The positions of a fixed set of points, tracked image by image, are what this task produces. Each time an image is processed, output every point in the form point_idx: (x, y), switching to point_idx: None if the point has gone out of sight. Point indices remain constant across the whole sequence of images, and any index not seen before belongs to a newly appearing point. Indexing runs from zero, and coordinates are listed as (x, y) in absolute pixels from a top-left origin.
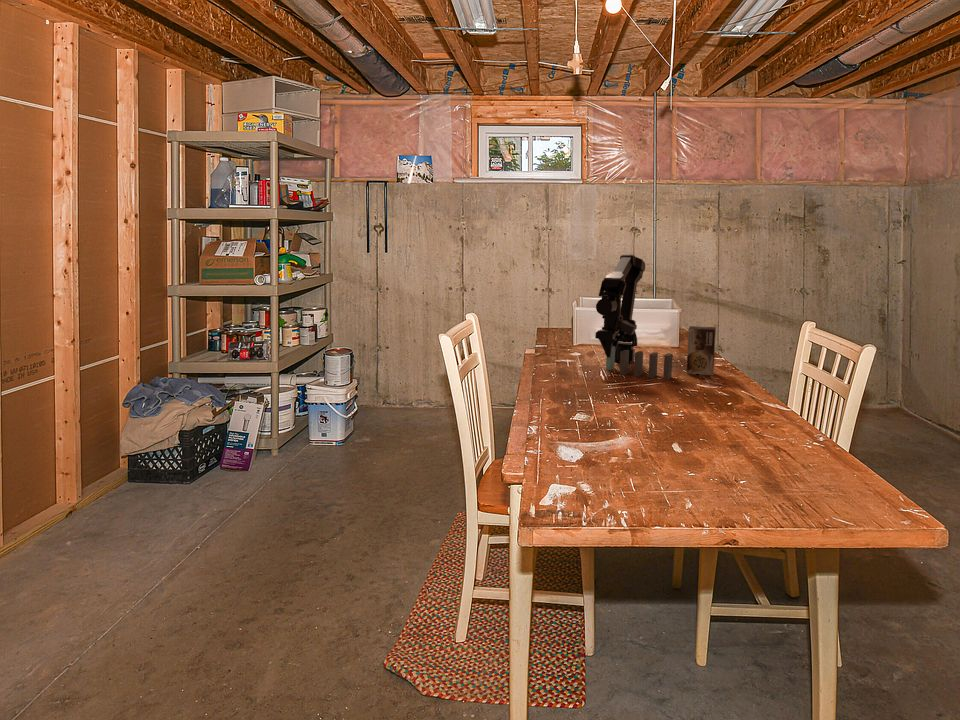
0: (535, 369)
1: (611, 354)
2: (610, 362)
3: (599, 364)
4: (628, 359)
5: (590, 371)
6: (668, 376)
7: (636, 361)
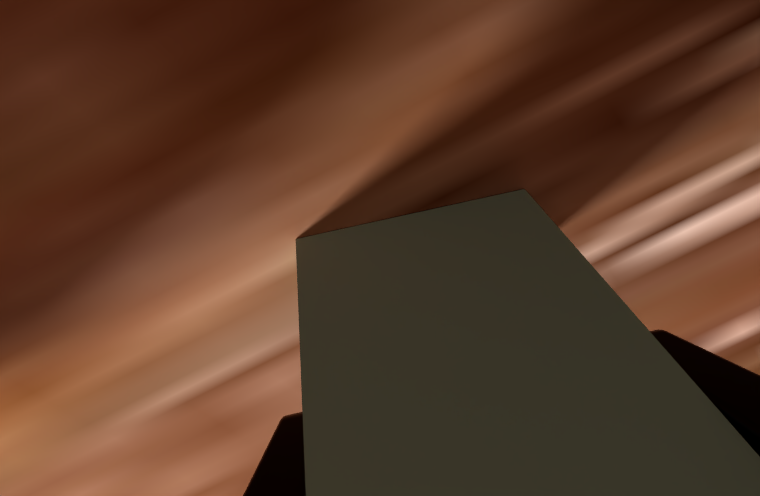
0: None
1: (622, 369)
2: (579, 255)
3: (205, 489)
4: None
5: (739, 323)
6: None
7: None
